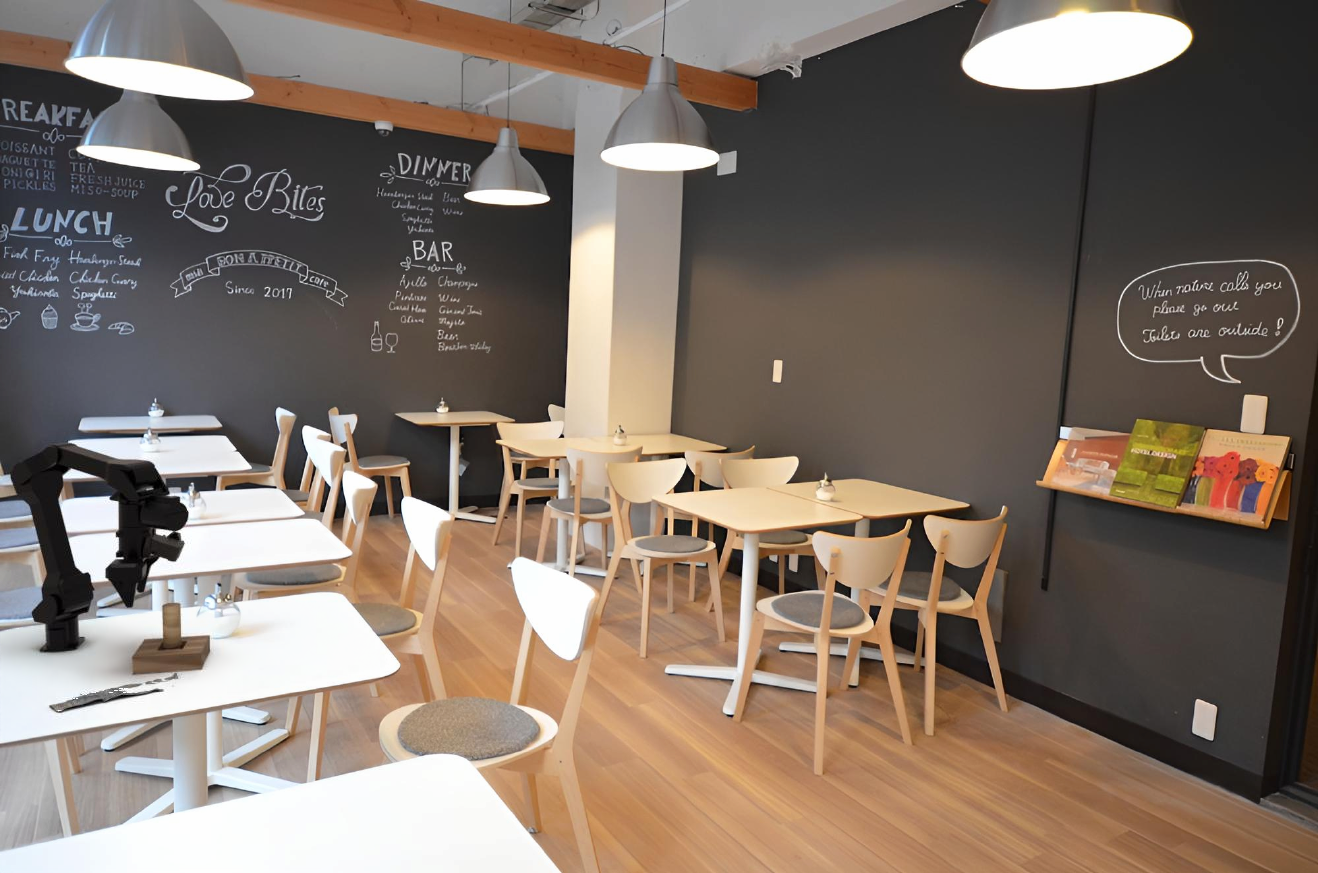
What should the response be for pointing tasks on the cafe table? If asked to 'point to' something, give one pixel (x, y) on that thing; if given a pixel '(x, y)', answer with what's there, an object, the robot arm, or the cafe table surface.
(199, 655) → the board
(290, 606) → the cafe table surface
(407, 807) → the cafe table surface
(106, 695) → the driftwood
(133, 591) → the robot arm
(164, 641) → the peg
